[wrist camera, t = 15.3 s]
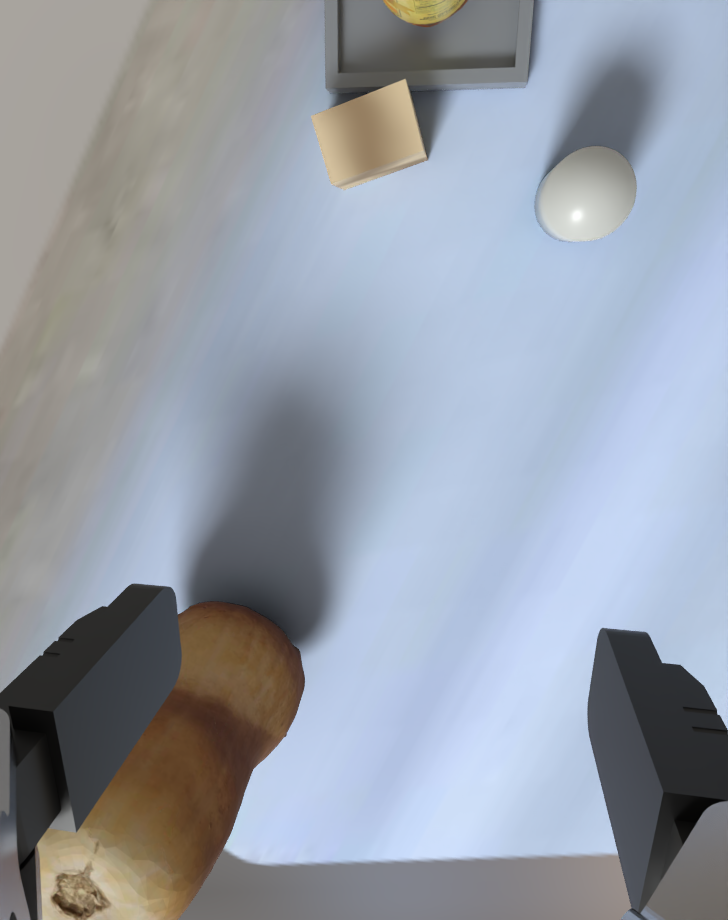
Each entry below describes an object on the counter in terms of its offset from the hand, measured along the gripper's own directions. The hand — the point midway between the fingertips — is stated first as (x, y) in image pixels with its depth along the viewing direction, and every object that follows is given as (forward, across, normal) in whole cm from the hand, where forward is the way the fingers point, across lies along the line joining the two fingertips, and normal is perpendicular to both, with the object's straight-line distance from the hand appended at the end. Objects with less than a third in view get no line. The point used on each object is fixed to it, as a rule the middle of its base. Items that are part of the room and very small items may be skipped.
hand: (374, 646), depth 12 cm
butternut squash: (+36, +17, +27) cm, 48 cm away
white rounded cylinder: (+36, -8, -10) cm, 38 cm away
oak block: (+36, +5, -14) cm, 39 cm away
